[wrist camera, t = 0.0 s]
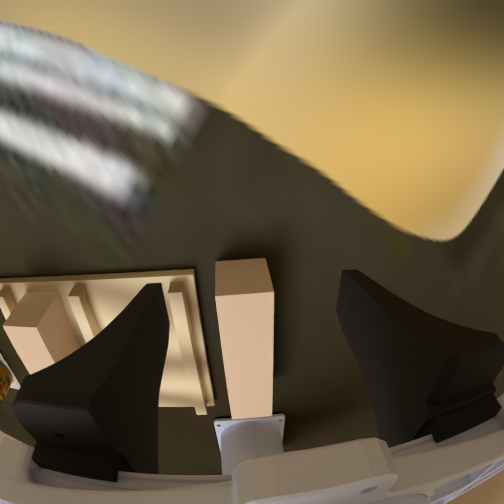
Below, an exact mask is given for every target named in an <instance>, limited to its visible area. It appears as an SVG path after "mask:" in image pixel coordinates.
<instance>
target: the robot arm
mask: <svg viewBox="0 0 504 504" xmlns="http://www.w3.org/2000/svg"><path fill="white" fill-rule="evenodd" d="M336 311H337V315H338V318H339V322H340V325H341V328H342V331H343V333H344V335H345V337H346V340H347V342H348V344H349V346H350V348H351V350H352V352H353V355H354V357H355V359H356V361H357V363H358V365H359V367H360V370H361V372H362V374H363V377H364V380H365V383H366V386H367V389H368V393H369V396H370V399H371V403H372V407H373V411H374V414H375V419H376V423H377V428H378V433H379V437H380V439H377V438H366V439H358V440H353V441H349V442H344V443H339V444H334V445H329V446H324V447H318V448H312V449H306V450H300V451H293V452H285V453H284V450H283V445H282V440H283V432H284V423H285V415H284V414H273V415H272V416H267V417H257V418H245V419H232V418H222V419H215V420H214V425H215V430H216V434H217V438H218V443H219V447H220V451H221V459H222V475H207V476H185V475H159V470H158V405H159V393H160V386H161V381H162V376H163V371H164V365H165V360H166V355H167V350H168V345H169V331H170V321H169V316H168V312H167V307H166V302H165V298H164V293H163V288H162V283H147V284H146V285H145V286H144V287H143V288H142V289H141V290H140V291H139V292H138V294H137V295H136V296H135V297H134V298H133V299H132V300H131V302H130V303H129V304H128V305H127V306H126V307H125V308H124V309H123V310H122V311H121V312H120V313H119V314H118V315H117V316H116V317H115V318H114V319H113V320H112V321H111V322H110V323H109V324H108V325H107V326H106V327H105V328H104V329H103V330H102V331H101V332H100V333H98V334H97V335H96V336H95V337H93V338H92V339H91V340H90V341H88V342H87V343H86V344H84V345H83V346H81V347H80V348H79V349H77V350H76V351H74V352H73V353H71V354H70V355H68V356H66V357H65V358H63V359H61V360H60V361H58V362H56V363H54V364H52V365H50V366H48V367H46V368H44V369H42V370H39V371H37V372H35V373H33V374H30V375H28V376H25V378H24V380H23V382H22V384H21V386H20V389H19V391H18V393H17V395H16V398H15V400H14V402H13V406H12V409H13V412H14V414H15V416H16V418H17V419H18V421H19V422H20V423H21V424H22V426H23V427H24V428H25V429H26V430H27V431H28V432H29V433H30V435H31V436H32V437H33V438H34V439H35V440H36V441H37V442H36V445H35V449H34V448H33V447H31V446H29V445H27V444H24V443H20V442H17V441H13V440H10V439H6V438H4V439H3V441H2V444H1V446H0V504H445V503H447V502H449V501H451V500H452V499H454V498H456V497H458V496H460V495H461V494H463V493H465V492H467V491H469V490H470V489H472V488H474V487H475V486H477V485H479V484H480V483H482V482H484V481H485V480H487V479H488V478H490V477H492V476H493V475H495V474H497V473H498V472H500V471H501V470H503V469H504V394H502V395H501V396H500V397H498V398H497V399H496V397H495V396H494V394H493V393H495V391H496V388H495V386H494V385H493V381H494V380H495V378H496V377H497V375H498V373H499V372H500V370H501V369H502V367H503V365H504V343H503V342H502V340H501V339H500V338H499V337H498V335H497V334H495V333H490V332H485V331H480V330H475V329H471V328H467V327H464V326H460V325H457V324H454V323H451V322H448V321H446V320H443V319H441V318H438V317H436V316H433V315H431V314H429V313H427V312H425V311H423V310H421V309H419V308H417V307H415V306H413V305H411V304H410V303H408V302H406V301H404V300H403V299H401V298H399V297H398V296H396V295H395V294H393V293H392V292H390V291H388V290H387V289H385V288H384V287H382V286H381V285H379V284H378V283H377V282H375V281H374V280H372V279H371V278H369V277H368V276H366V275H365V274H363V273H361V272H360V271H358V270H356V269H354V270H343V271H342V276H341V283H340V289H339V296H338V302H337V309H336Z"/></svg>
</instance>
